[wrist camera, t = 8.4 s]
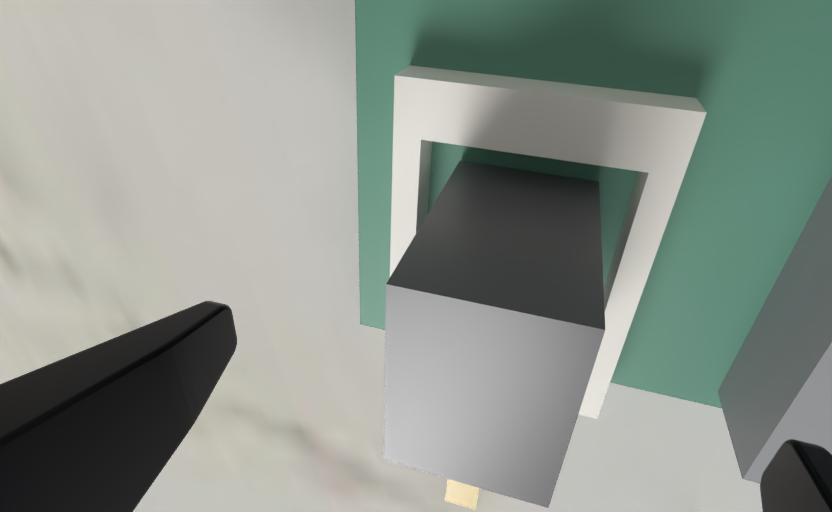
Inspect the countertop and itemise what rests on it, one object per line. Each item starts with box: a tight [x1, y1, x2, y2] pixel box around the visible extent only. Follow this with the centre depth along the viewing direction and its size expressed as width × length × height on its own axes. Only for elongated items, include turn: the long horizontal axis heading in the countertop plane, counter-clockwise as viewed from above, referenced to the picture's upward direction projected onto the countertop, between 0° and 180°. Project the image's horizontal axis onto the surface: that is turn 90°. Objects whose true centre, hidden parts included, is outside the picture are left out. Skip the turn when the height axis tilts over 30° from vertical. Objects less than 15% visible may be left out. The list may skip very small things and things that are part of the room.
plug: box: [383, 161, 605, 510], centre depth 10 cm, size 3×5×5 cm, turn 178°
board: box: [355, 0, 832, 483], centre depth 9 cm, size 16×14×4 cm
